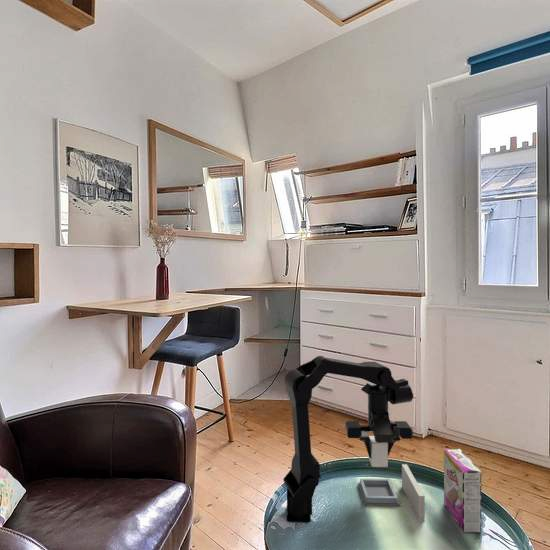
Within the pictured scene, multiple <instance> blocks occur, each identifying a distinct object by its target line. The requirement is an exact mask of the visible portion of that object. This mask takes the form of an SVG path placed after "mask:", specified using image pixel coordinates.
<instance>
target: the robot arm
mask: <svg viewBox="0 0 550 550" xmlns="http://www.w3.org/2000/svg"><path fill="white" fill-rule="evenodd" d="M327 374H331V375H336V376H337V375H338V376H344V377H349V378H356V379H362V380H365V382H366V384H365V385H363V387H361V389H360V390H361V391H362V392H363V393H365V394H366V395H367V423H368V424H367V425H366V424H365V425H361V424H360V422H359V420H346V421H345V423H344V430H345V433H346V436H347V438H348V439H359V440H360V441H363V443H364V446H365V449H366V452H367V455H368V459H369V458H371V449H370V438H369V436H370V435H369V433H372V434H373V436H374V438H375V441H376V442H378V443H381V442H387V443H388V457H389V456H390V453H391V451H392V448H393V446H394V445H395V443H397V442H400V441H401V439H402V440H403V439H404V440H407V439H408V440H412V439H413V438H414V432H413V431H414V430H413V428H412V427H411V426H410V424H409V423H408V422H407V421H405V420H402V421H401V420H400V421H399V420H398V421H396V420H395V421H393V422H391V420H390V413H389V403H390V404H391V405H398V404H399V405H400V404H405V403H411V402H413V398H414V393H413V391H412V388H411V385H409V380H407V379H406V378H400V379H397V380H395V379H394V377H393V376H392V371H391V369H390V368H389V367H387V366H386V365H383V364H381V363H379V362H377V361H363V362H352V361H348V360H341V359H336V358H330V357H325V356H322V355H318V356H316V357H314V358H313V359H312V360H309V361H307V362H305V363H302V364H301V365H299V366H298V367H296V368H295V369H292V370H289V371H288V372H287V373H286V375H285V376H284V384H285V388H286V393H287V395H288V397H289V401H290V403H291V414H292V417H291V418H292V427H293V430H292V431H293V442H294V443H293V444H294V455H293V456H292V459H291V466H290V470H289V471H288V472H287V474H286V475H285V476H284V477H283V482H284V485H285V487H286V522H289V523H291V522H292V523H311V521H312V518H311V516H313V497H314V494H315V490H316V489H317V487H318V486H319V483H320V479H321V478H322V476H321V474H320V473H321V472H320V470H321V469H320V467H321V465H320V462H319V461H318V459H317V458H316V457H315V456H314V454H313V453H312V447H311V446H312V445H311V431H310V429H311V428H310V414H309V413H310V412H309V404H310V402H311V399H312V396H313V395H312V394H313V390H314V388H316V387H317V386H318V385H319V384H320V383H321V381H322V380H323V379H324V377H325V376H326V375H327ZM370 383H371V384H370Z"/></svg>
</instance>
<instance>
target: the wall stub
mask: <svg viewBox="0 0 550 550" xmlns="http://www.w3.org/2000/svg"><path fill="white" fill-rule="evenodd" d="M401 488H402V490H403V491H404V493H405V496H406V498H407V500H408V502H409V504H410V506H411V509H412V510H413V512H414V514H415V516H416V519H417V521H418V522H426V521H425V520H426V519H425V514H426V510H425V507H426V506H425V505H426V504H425V503H426V502H425V498H426V497H425V494H424V492H423V491H422V489H421V487H420V485H419V484H418V482H417V480H416V477H414V475H413V473H412V471H411V469H410V467H409V465H408V464H401Z"/></svg>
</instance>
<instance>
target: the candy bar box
mask: <svg viewBox="0 0 550 550" xmlns="http://www.w3.org/2000/svg"><path fill="white" fill-rule="evenodd" d="M443 504H444V507H445V508H446V509H447V510H448V512H449V514H450V515H451V516H452V518H453V519H454V521H455V522H456V524H457V525H458V526H459V528H460V530H461V531H462V532H463V533H465V534H467V533H468V534H469V533H470V534H471V533H472V534H473V533H482V470H481V469H480V468H479V467H478V466H476V464H475V463H474V462H473V461H472V459H470V458H469V457H468V456H467V455H466V454H465V453H464V451H462V449H461V448H450V449H449V448H445V449H443Z"/></svg>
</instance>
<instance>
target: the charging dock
mask: <svg viewBox="0 0 550 550" xmlns="http://www.w3.org/2000/svg"><path fill="white" fill-rule="evenodd" d="M358 488H359V491H360V494H361V498H362V500H363V504H364V506H377V507H383V506H385V507H401V503H400V501H399V498H398V495H397V493H396V491H395V488H394V486H393V484H392V481H391V479H390V478H359V482H358Z"/></svg>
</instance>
